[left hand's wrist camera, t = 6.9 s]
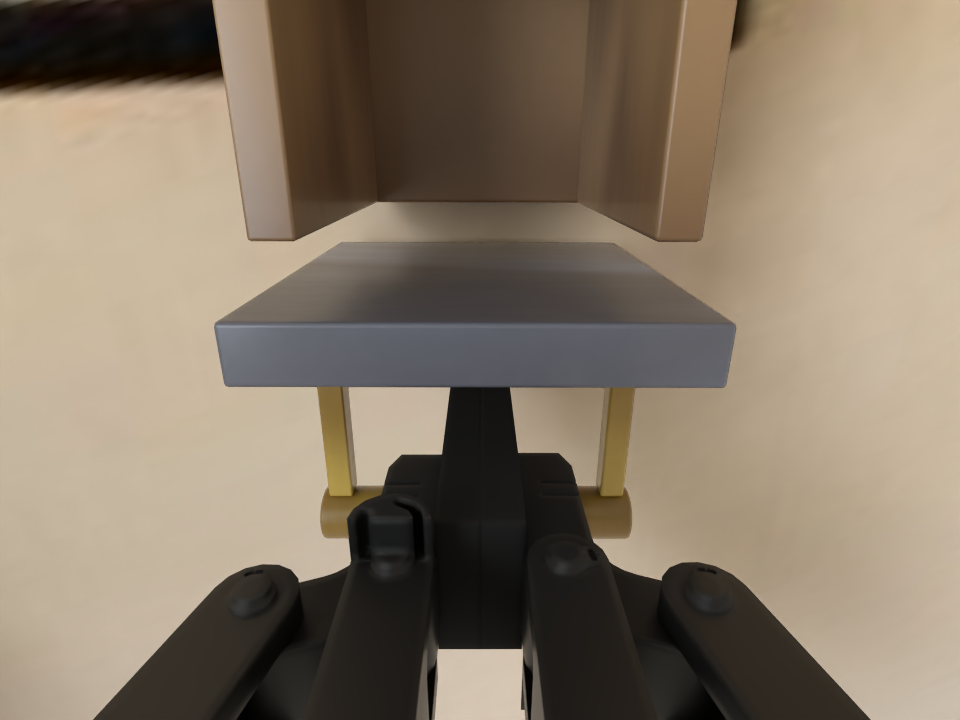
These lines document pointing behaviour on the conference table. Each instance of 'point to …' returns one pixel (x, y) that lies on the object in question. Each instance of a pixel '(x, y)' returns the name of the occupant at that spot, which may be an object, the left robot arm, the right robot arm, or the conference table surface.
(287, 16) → the drawer
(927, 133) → the conference table surface
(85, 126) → the conference table surface
